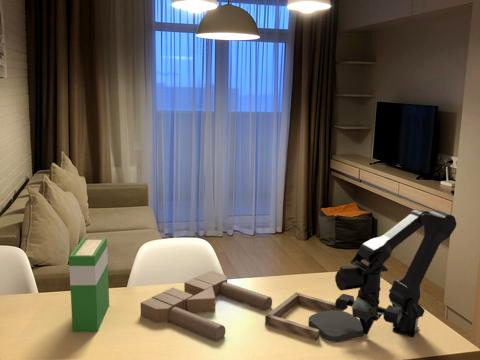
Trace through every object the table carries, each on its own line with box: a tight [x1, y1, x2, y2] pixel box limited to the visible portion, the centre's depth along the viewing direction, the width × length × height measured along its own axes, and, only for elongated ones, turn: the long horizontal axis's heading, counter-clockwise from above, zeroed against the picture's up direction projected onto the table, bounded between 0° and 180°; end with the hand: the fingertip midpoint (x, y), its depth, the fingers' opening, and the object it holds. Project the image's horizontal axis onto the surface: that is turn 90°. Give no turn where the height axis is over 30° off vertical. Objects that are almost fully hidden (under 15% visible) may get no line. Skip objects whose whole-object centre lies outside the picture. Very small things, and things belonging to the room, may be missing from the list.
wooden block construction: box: [139, 270, 273, 342], centre depth 166 cm, size 35×6×29 cm
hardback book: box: [68, 236, 110, 333], centre depth 157 cm, size 18×7×24 cm, turn 3°
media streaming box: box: [307, 310, 365, 343], centre depth 155 cm, size 15×15×3 cm
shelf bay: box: [264, 292, 345, 342], centre depth 161 cm, size 18×21×3 cm
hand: (366, 334), depth 150 cm, fingers closed
